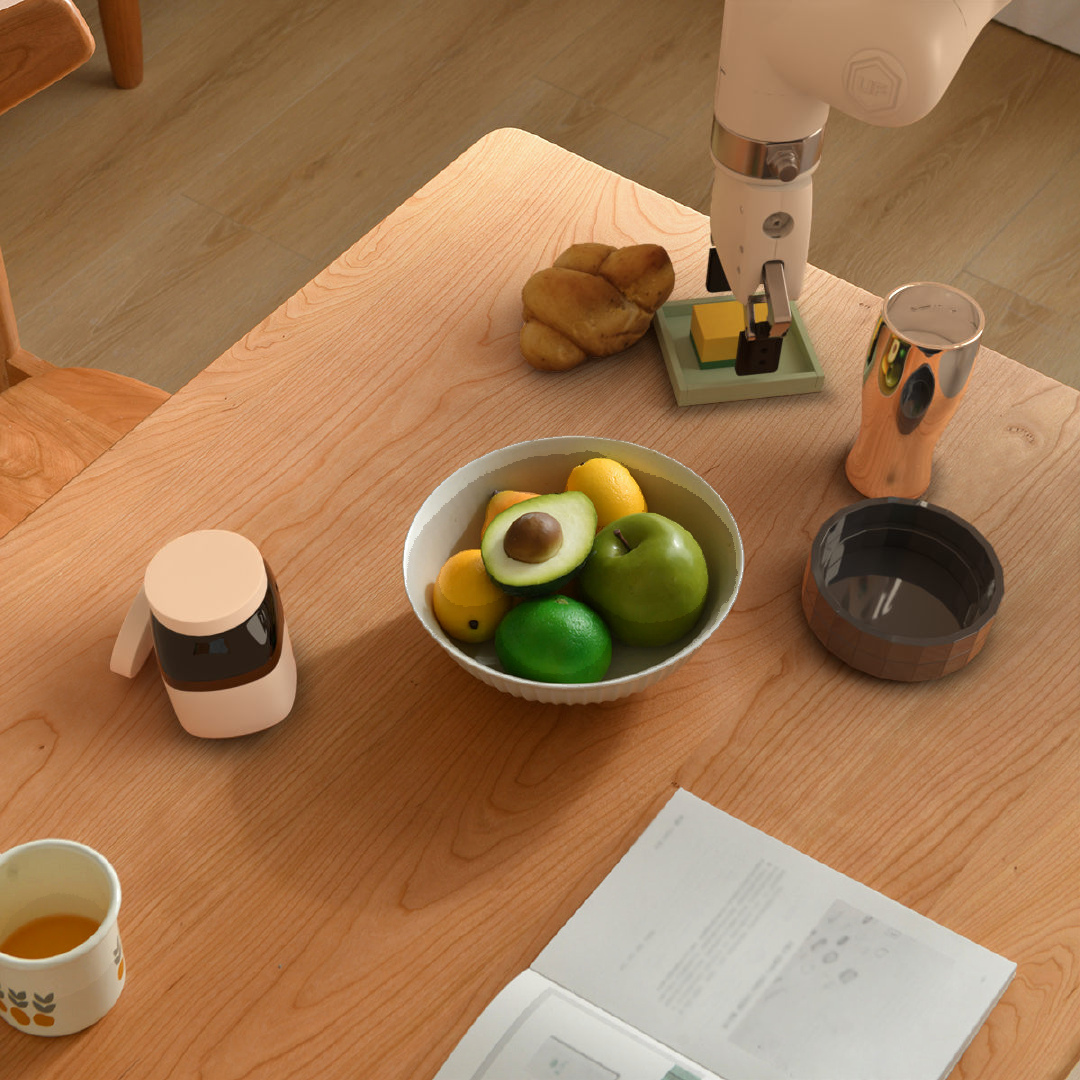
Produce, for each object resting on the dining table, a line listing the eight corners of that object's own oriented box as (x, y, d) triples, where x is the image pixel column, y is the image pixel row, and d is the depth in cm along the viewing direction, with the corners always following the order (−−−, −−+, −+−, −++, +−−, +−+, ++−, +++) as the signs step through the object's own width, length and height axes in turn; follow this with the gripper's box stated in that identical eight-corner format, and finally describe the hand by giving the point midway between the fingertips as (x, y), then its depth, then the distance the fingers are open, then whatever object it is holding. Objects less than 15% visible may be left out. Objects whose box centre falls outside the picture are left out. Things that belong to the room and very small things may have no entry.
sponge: (762, 328, 107) (768, 297, 105) (776, 362, 105) (781, 331, 102) (689, 336, 107) (692, 304, 104) (700, 370, 104) (704, 339, 102)
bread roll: (555, 403, 103) (556, 323, 97) (480, 335, 108) (476, 254, 102) (682, 333, 108) (691, 253, 102) (604, 272, 113) (608, 191, 107)
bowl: (949, 530, 95) (965, 487, 91) (1014, 674, 87) (1033, 632, 83) (780, 550, 94) (789, 507, 90) (829, 697, 86) (841, 656, 82)
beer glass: (830, 495, 97) (869, 336, 85) (848, 429, 101) (887, 269, 89) (928, 519, 95) (981, 360, 84) (942, 451, 100) (994, 291, 88)
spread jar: (306, 744, 84) (278, 633, 75) (119, 776, 82) (68, 667, 73) (290, 592, 91) (262, 475, 82) (118, 620, 90) (71, 504, 81)
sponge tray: (786, 305, 110) (789, 288, 109) (821, 391, 104) (825, 375, 102) (651, 318, 109) (652, 302, 108) (678, 407, 103) (680, 390, 101)
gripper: (859, 207, 86) (818, 402, 99) (787, 61, 97) (759, 254, 110) (744, 218, 85) (718, 413, 98) (685, 70, 96) (669, 263, 109)
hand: (740, 329), depth 104 cm, fingers open, 9 cm apart
